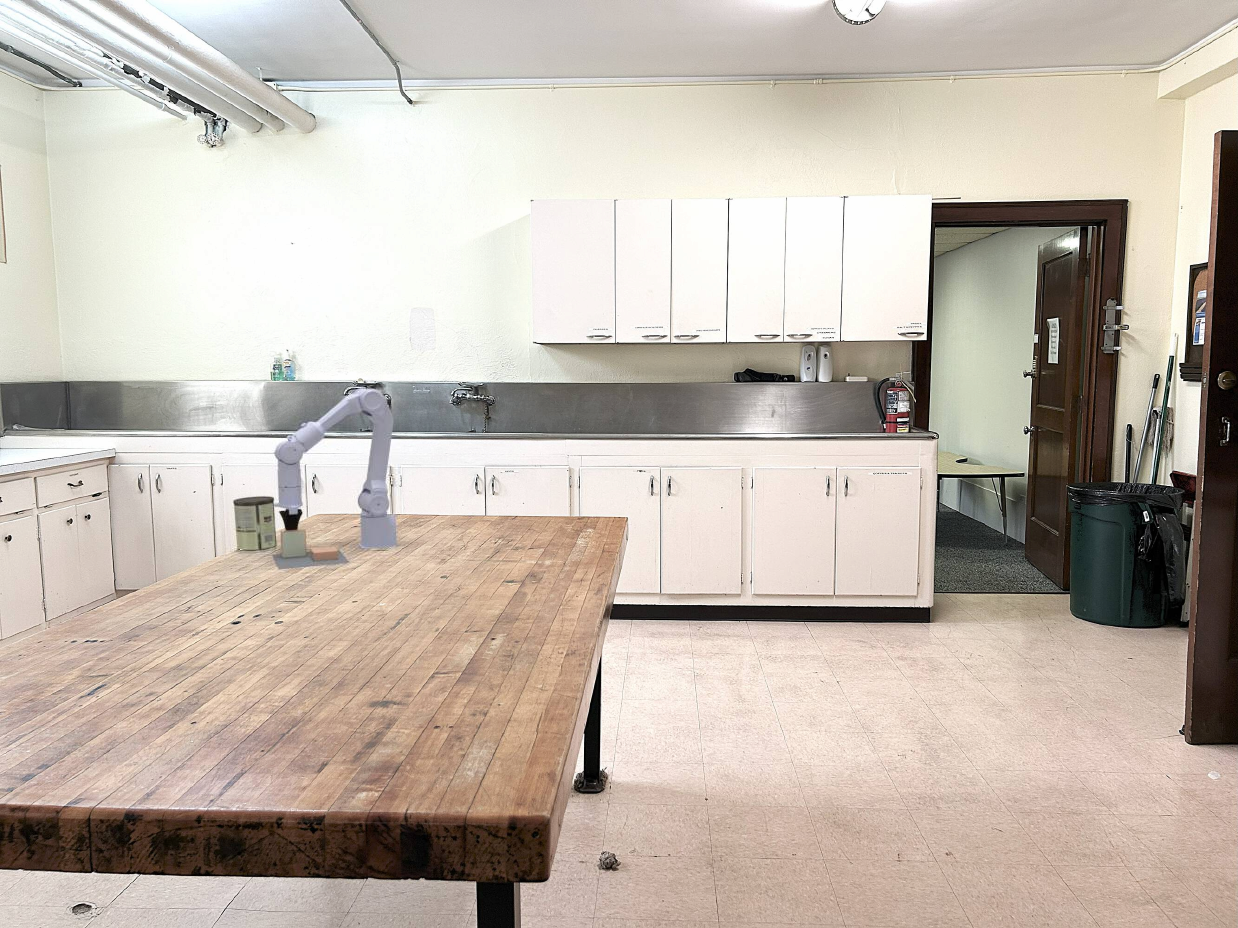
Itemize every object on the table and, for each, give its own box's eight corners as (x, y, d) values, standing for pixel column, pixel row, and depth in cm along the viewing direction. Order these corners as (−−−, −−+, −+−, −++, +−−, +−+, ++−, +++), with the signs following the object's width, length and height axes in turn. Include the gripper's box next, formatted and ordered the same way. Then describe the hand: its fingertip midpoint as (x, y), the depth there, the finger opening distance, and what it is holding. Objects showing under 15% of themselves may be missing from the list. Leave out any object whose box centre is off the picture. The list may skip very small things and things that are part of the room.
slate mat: (338, 550, 241) (338, 549, 241) (349, 564, 225) (349, 562, 225) (272, 556, 234) (272, 555, 234) (278, 570, 218) (278, 569, 218)
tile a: (310, 547, 232) (313, 552, 226) (333, 545, 235) (338, 550, 229) (310, 556, 233) (314, 561, 226) (334, 554, 235) (338, 559, 229)
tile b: (281, 556, 231) (280, 530, 231) (305, 554, 234) (304, 528, 233) (282, 558, 229) (281, 532, 229) (306, 556, 232) (305, 530, 231)
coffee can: (246, 546, 247) (243, 496, 246) (282, 545, 247) (280, 495, 246) (229, 553, 237) (226, 502, 236) (268, 553, 237) (264, 501, 235)
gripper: (271, 484, 238) (273, 533, 240) (276, 490, 225) (278, 543, 227) (298, 482, 241) (300, 531, 243) (305, 489, 228) (307, 540, 230)
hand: (291, 537), depth 235 cm, fingers closed
